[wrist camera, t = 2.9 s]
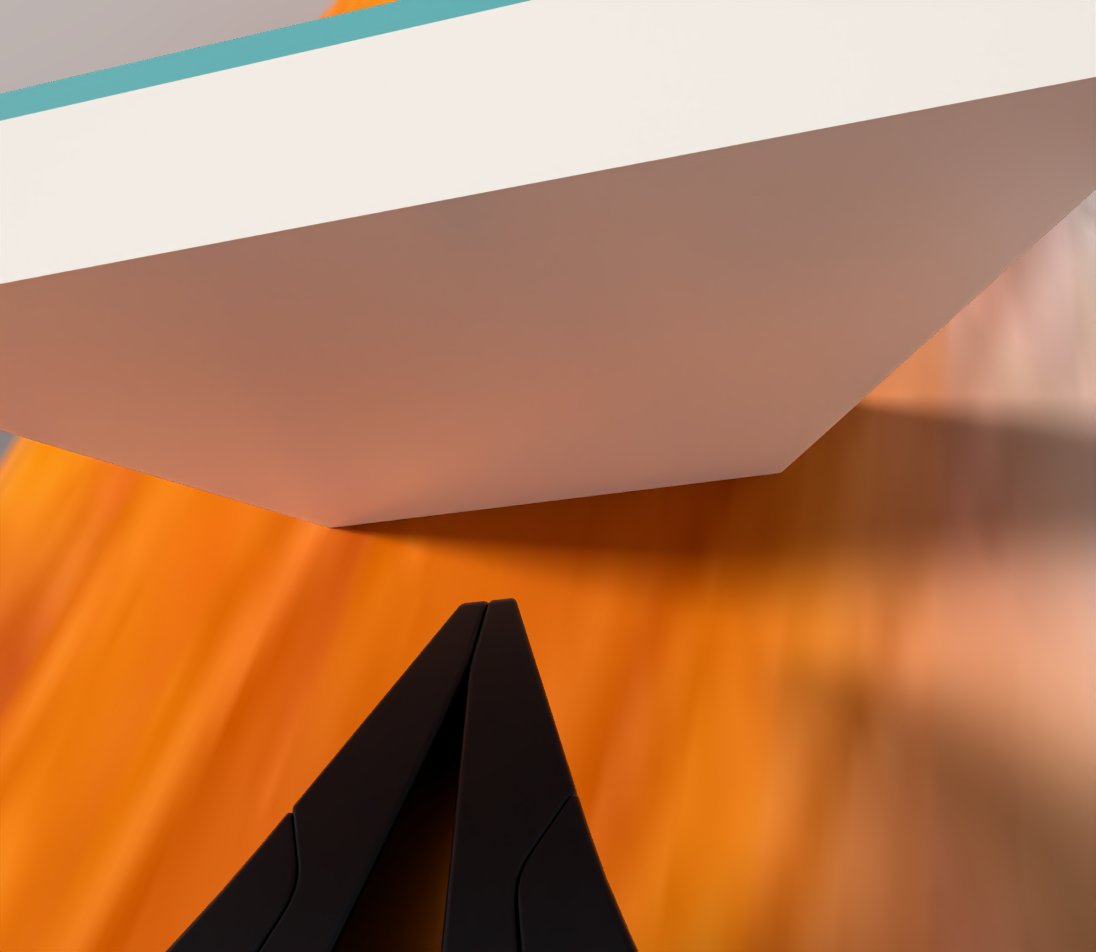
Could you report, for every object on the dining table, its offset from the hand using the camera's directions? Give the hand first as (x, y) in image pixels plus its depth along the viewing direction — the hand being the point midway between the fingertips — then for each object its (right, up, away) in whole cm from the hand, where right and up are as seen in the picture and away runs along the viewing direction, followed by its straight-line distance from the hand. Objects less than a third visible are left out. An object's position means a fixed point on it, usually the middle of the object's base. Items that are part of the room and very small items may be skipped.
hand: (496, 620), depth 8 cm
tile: (+1, +3, +8) cm, 9 cm away
